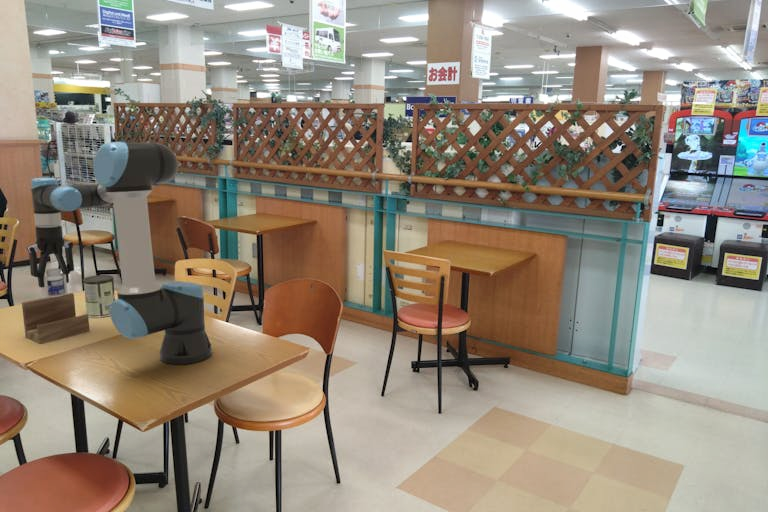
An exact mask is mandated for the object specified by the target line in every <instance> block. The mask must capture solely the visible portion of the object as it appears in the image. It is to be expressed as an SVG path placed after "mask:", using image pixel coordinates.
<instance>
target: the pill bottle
mask: <svg viewBox="0 0 768 512" xmlns="http://www.w3.org/2000/svg"><path fill="white" fill-rule="evenodd" d="M45 274H46V276H45V277H47V284H48V294H49V297H59V296H63V295H64V294H65V293H64V284H63V276H62V275H60V274H61V268H56V267H54V268H48V269H47V268H46V270H45Z"/></svg>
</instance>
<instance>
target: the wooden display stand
mask: <svg viewBox="0 0 768 512" xmlns="http://www.w3.org/2000/svg"><path fill="white" fill-rule="evenodd" d="M75 304H76V303H75V294H74V292H70V293H68V292H67V293H66V294H65V293H64V295H63V296H59V297H44V298H43V297H42V298H37V299H33V300H27V301H23V302H22V301H21V307H22V316H23V326H24V334H25V338H26V339H29V340H30V341H33V342H35V343H38V344H39V345H42V344H44V343H45V344H46V343H50V342H53V341H56V340H57V341H58V340H61V339H64V338H65V339H66V338H69V337H72V336H73V337H74V336H78V335H81V334H85V333H89V332H90V330H91V329H90V319H89V318H90V317H88V315H87V313H86V314H83V315H78V316H77V314H76V305H75Z"/></svg>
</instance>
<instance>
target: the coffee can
mask: <svg viewBox="0 0 768 512" xmlns="http://www.w3.org/2000/svg"><path fill="white" fill-rule="evenodd" d="M114 277H115V276H113V275H110V274H99V275H98V274H97V275H91V276H87V277H84V278H83V280H82V281H83V290H84V299H85V309H86V314H87V315H88V318H92V319H93V318H94V319H97V318H98V319H99V318H107V317H111V315H110V307H111V304H112V302H113V301H115V300H116V295H115V286H114V285H115V283H114Z"/></svg>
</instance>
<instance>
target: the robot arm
mask: <svg viewBox="0 0 768 512" xmlns="http://www.w3.org/2000/svg"><path fill="white" fill-rule="evenodd" d="M92 168H93V174H94V175H93V176H94V178H95V179H96V182H97V183H94V184H77V185H76V184H75V185H59V181H58V179H57V178H55V177H36V178H32V179H31V180H30V181H31V182H30V184H31V185H30V186H31V189H30V191H31V198H32V205H33V206H32V207H33V218H34V225H35V237H36V238H35V239H36V242H35V244H33V245H31V246H27V247H26V249H27V252H28V255H29V269H30V276H31V277H35V278H37V282H38V284H37V285H38V287H39V288H41V293H42V297H44V298H47V297H49V294H48V284H47V277H46V276H45V274H46V270H47V263H48V258H49V257H50V255H52V254H54V256H55V257H56V258H55V259H56V260H57V263H58V266H59V269H60V275H62V276H63V284H64V294H68V285H67V284H68V283H70V278H69V277H70V276H69V275H70V273H71V272H73V271H75V264H74V255H73V246H74V243H73V242H72V241H65V240H64V238H63V237H64V236H63V235H64V234H63V227H62V226H61V225H62V214H61V211H62V212H72V211H75V210H80V209H81V210H82V209H90V208H93V209H94V208H102V207H103V208H105V207H106V208H110V207H113V213H114V221H115V230H116V239H117V241H116V242H117V248H118V249H117V250H118V257H119V265H120V266H119V267H120V274H121V286H120V287H119V289H118V290H117V291H116V293H117V299H115V301H113V302H112V304H111V307H110V315H111V316H110V319H111V322H112V324H113V326H114V328H115V329H116V331H117V332H118V333H119V334H120V335H121V336H122V337H124V338H126V339H130V340H132V339H134V340H135V339H138V338H144V337H147V336H149V335H153V334H156V333H159V332H163V331H164V335H163V338H162V339H163V340H162V342H161V347H160V349H159V358H160V360H161V362H163V363H165V364H170V365H188V364H195V363H199V362H203V361H205V360H207V359H208V358H210V357H211V356H212V354H213V352H212V344H211V342H210V339H209V336H208V334H207V331H206V327H205V325H206V324H205V306H204V305H205V303H204V299H205V296H204V289H203V286H202V285H201V284H199V283H195V282H190V281H166V282H163V283H162V284H161V285H160V284H159V283H158V282H157V281H156V276H155V275H156V274H155V265H154V255H153V245H152V244H153V243H152V238H151V236H152V234H151V227H150V218H149V215H150V214H149V206H148V196H149V195H150V194H151V193H152V191H153V189H152V186H155V187H158V186H161V185H164V184H166V183H168V182H170V181H172V180H173V179H174V178H175V177H176V175H177V174H178V171H179V160H178V157H177V156H176V153H174V151H173V150H172V149H171V148H170V147H168V146H167V145H165V144H163V143H159V142H150V141H149V142H140V141H139V142H138V141H137V142H135V141H133V142H132V141H114V142H113V141H112V142H106V143H103V144H101V146H100V147H99V148H98V149H97V152H95V156H94V159H93V167H92ZM63 247H64V253H65V259H64V256H63V252H62V248H63ZM38 250H39V251H40V254H39V257H40V258H39V262H38V254H37V252H38Z"/></svg>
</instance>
